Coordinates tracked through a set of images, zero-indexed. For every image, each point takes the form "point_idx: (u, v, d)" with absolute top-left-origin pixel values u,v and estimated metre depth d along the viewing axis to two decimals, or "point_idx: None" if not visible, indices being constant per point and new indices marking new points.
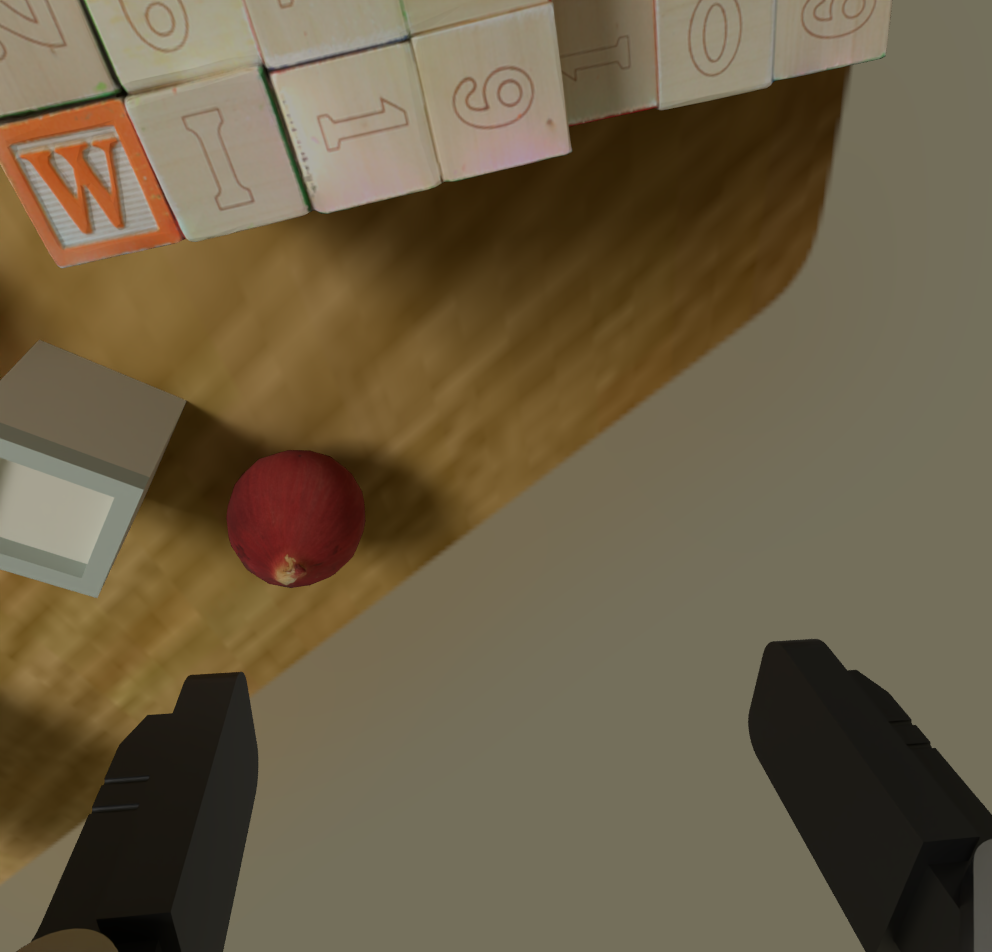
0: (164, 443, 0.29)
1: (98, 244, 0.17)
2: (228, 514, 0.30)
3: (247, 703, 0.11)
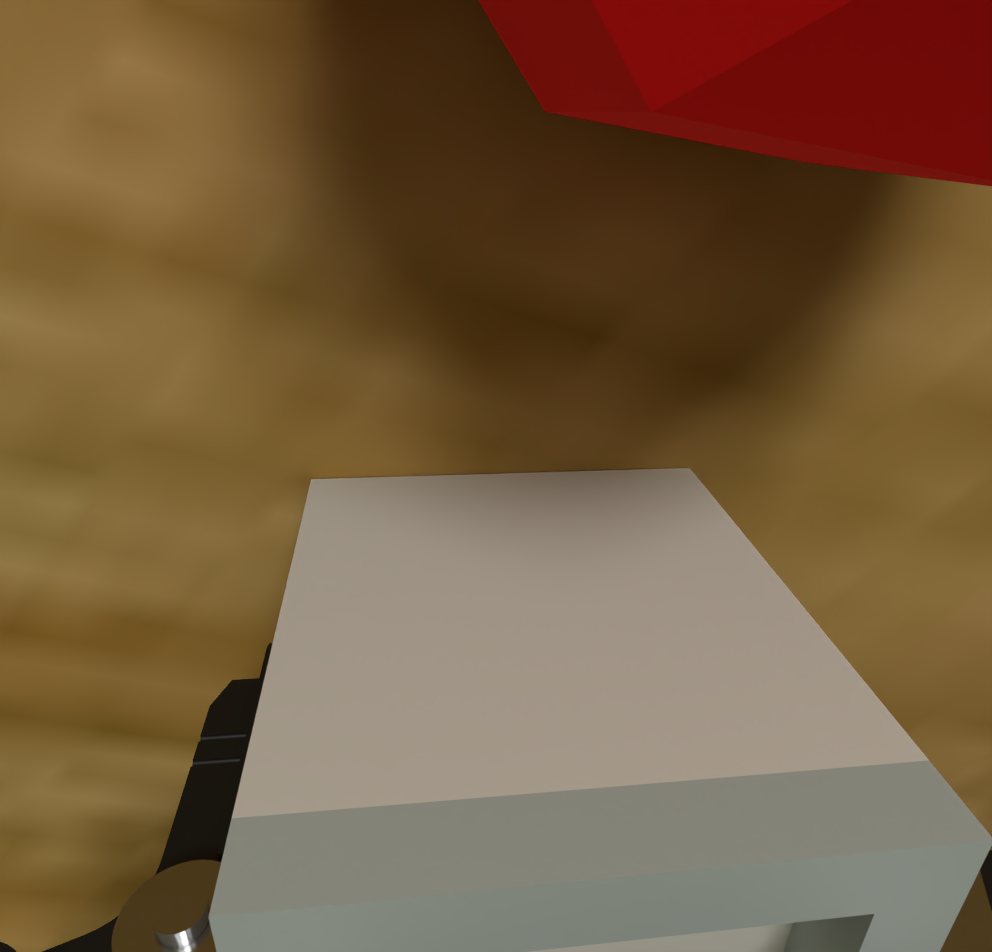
0: None
1: None
2: None
3: None
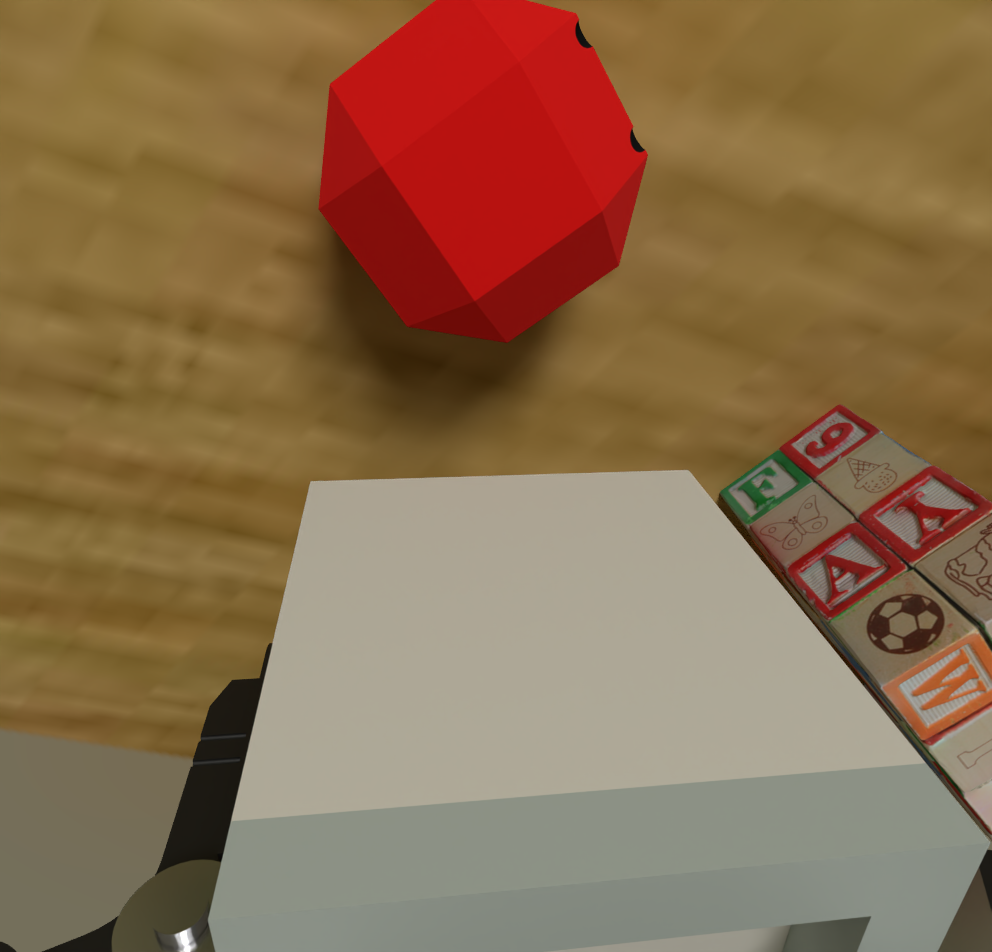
0: None
1: (907, 702, 0.21)
2: None
3: None
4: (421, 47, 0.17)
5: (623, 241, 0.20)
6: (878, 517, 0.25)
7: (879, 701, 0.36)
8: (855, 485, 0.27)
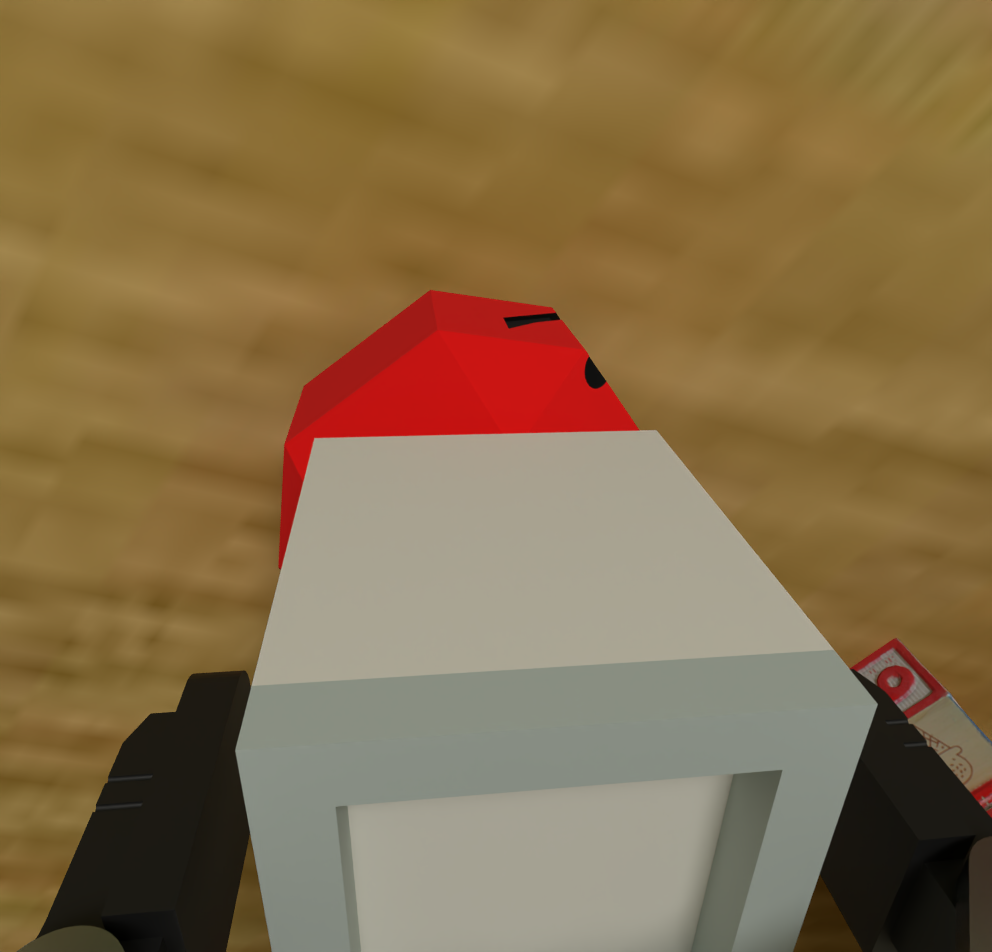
0: None
1: None
2: None
3: None
4: (394, 413, 0.14)
5: None
6: None
7: None
8: None
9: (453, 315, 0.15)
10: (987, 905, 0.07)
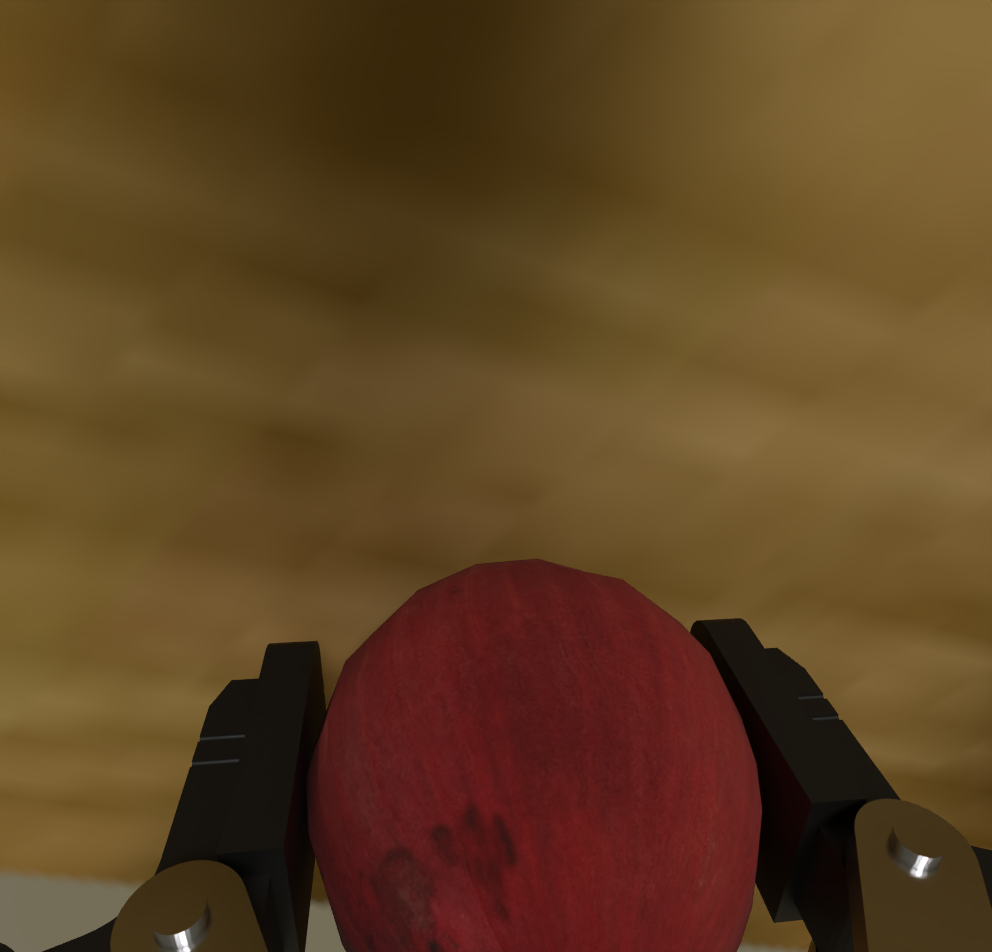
0: None
1: None
2: (506, 666, 0.08)
3: (320, 671, 0.11)
4: None
5: None
6: None
7: None
8: None
9: None
10: (875, 871, 0.07)
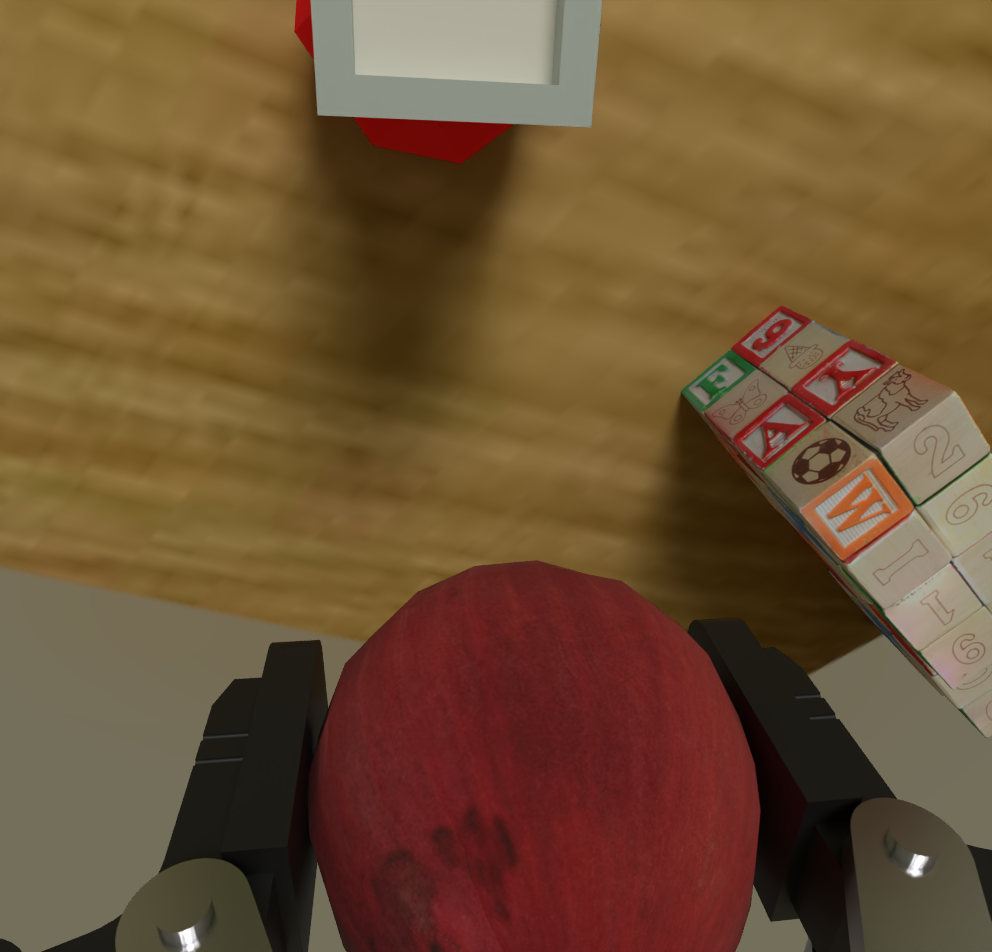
0: None
1: (824, 525, 0.25)
2: (506, 668, 0.08)
3: (322, 670, 0.11)
4: None
5: None
6: (806, 387, 0.29)
7: (841, 582, 0.40)
8: (789, 365, 0.31)
9: None
10: (871, 871, 0.07)
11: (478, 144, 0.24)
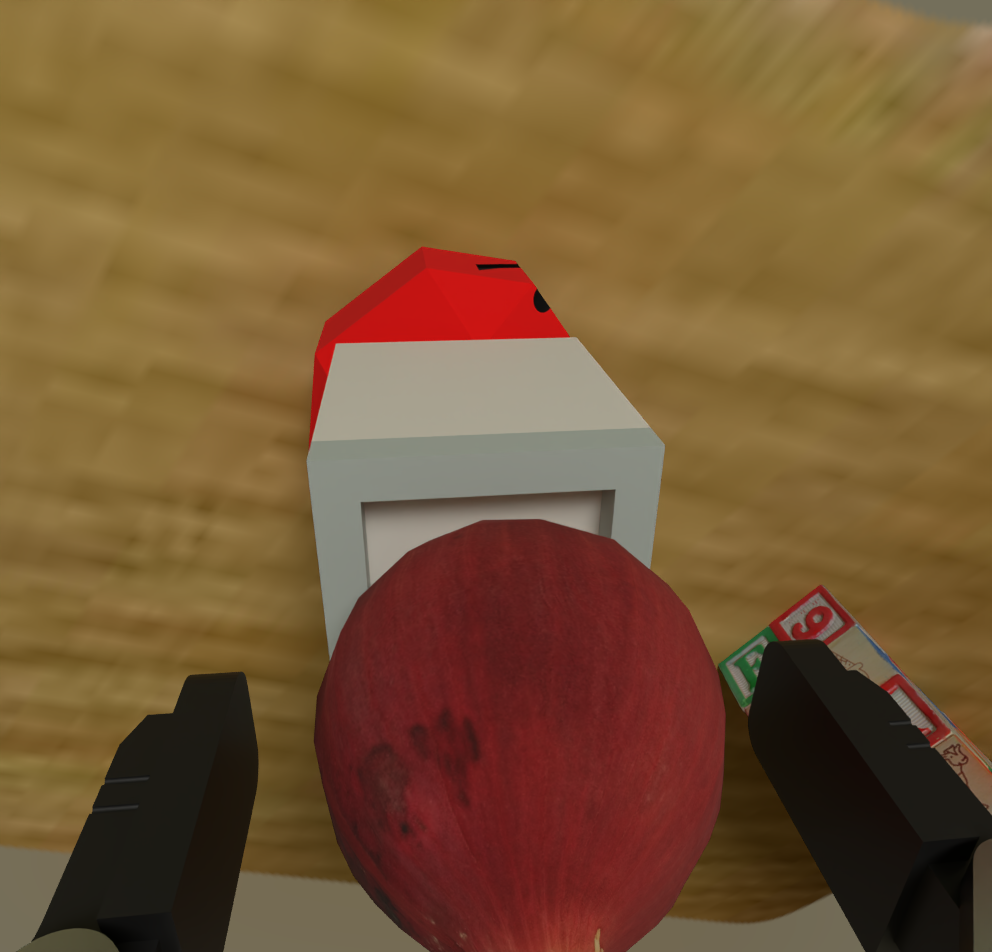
0: None
1: None
2: (489, 596, 0.09)
3: (247, 703, 0.11)
4: (395, 327, 0.19)
5: None
6: None
7: None
8: None
9: (438, 261, 0.21)
10: (991, 906, 0.07)
11: None
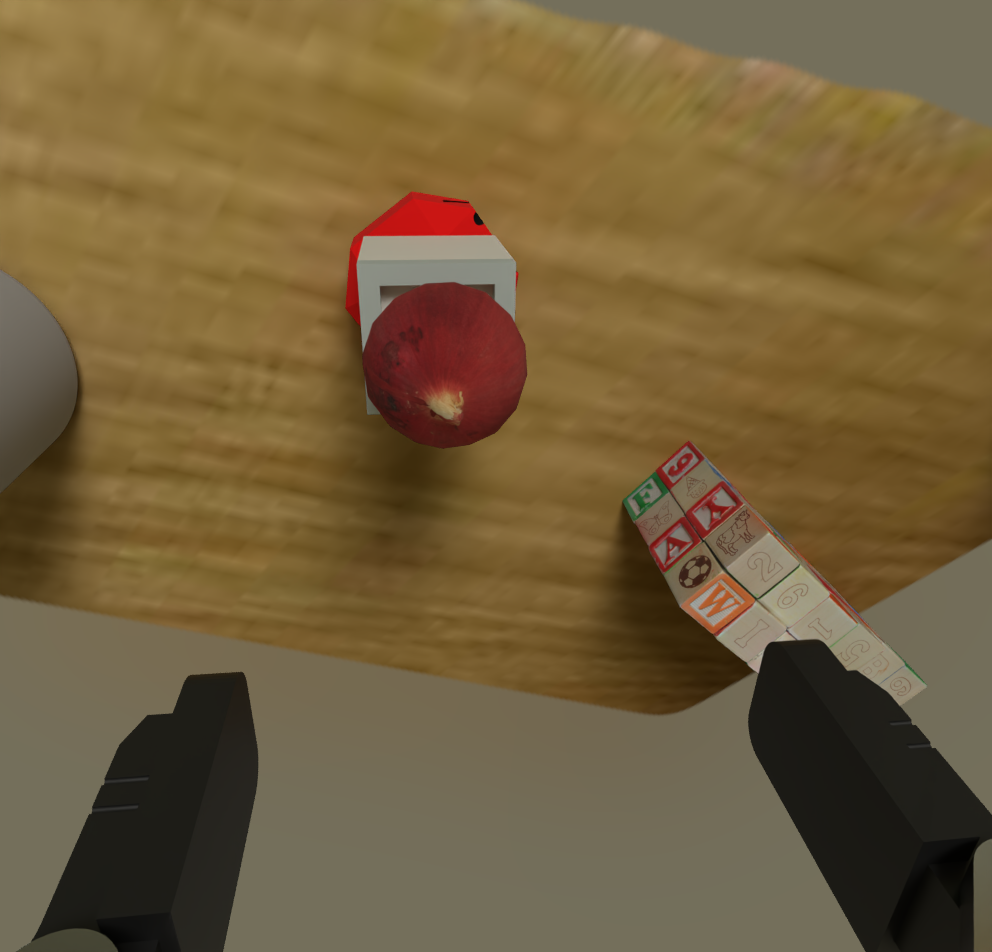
0: None
1: (697, 613, 0.40)
2: (428, 295, 0.24)
3: (247, 703, 0.11)
4: (395, 231, 0.35)
5: None
6: (694, 513, 0.43)
7: None
8: (687, 493, 0.45)
9: (420, 197, 0.36)
10: None
11: None
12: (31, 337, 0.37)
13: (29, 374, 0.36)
